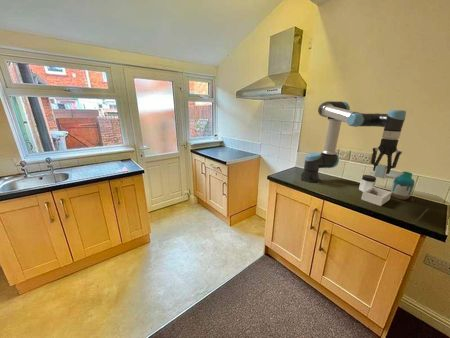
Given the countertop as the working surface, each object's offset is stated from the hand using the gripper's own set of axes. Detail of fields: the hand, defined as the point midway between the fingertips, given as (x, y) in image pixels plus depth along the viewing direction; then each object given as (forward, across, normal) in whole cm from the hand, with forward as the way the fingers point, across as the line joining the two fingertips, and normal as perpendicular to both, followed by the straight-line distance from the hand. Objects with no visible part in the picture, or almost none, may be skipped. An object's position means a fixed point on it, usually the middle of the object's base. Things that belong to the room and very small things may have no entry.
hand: (379, 177), depth 114 cm
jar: (+20, -13, +24) cm, 34 cm away
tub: (+20, -2, +13) cm, 24 cm away
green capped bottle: (+20, +5, +31) cm, 37 cm away
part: (+19, -5, +17) cm, 26 cm away
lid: (+1, 0, +9) cm, 9 cm away
